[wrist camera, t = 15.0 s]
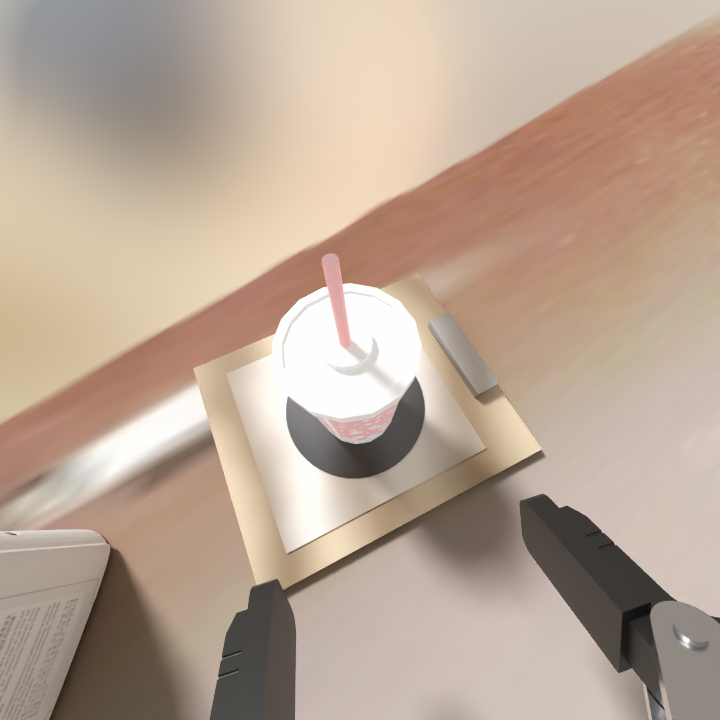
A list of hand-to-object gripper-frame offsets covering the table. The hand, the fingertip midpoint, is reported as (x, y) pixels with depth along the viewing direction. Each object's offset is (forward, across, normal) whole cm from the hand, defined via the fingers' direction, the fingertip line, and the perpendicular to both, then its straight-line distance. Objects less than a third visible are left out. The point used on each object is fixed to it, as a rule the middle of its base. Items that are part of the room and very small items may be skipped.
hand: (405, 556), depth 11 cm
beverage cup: (+12, 0, +1) cm, 12 cm away
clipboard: (+12, 0, +1) cm, 12 cm away
